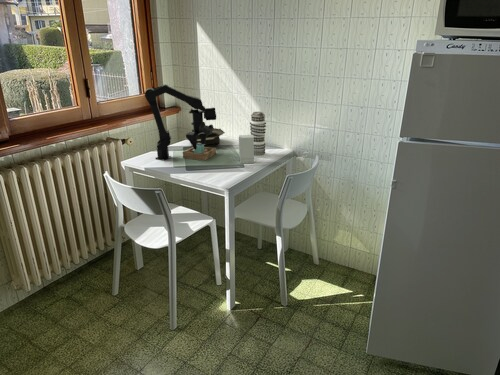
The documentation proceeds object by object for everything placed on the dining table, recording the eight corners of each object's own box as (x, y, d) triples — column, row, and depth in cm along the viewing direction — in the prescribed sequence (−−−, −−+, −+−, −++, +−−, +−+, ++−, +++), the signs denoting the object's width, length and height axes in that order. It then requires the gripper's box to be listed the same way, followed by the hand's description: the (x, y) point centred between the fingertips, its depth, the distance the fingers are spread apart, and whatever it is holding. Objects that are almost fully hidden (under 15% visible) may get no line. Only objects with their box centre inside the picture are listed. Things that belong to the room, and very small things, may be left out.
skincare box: (254, 160, 216) (253, 134, 211) (254, 163, 211) (254, 137, 205) (239, 160, 216) (238, 134, 211) (239, 163, 211) (238, 137, 205)
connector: (200, 156, 222) (200, 144, 219) (195, 155, 224) (194, 143, 221) (204, 154, 225) (203, 142, 223) (198, 153, 227) (197, 142, 224)
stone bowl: (231, 142, 251) (230, 128, 247) (208, 154, 232) (207, 140, 228) (201, 137, 263) (200, 123, 259) (177, 148, 244) (175, 134, 240)
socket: (203, 156, 221) (202, 151, 220) (192, 155, 224) (191, 150, 223) (207, 154, 225) (207, 149, 224) (196, 153, 228) (196, 148, 227)
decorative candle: (263, 158, 220) (263, 114, 210) (248, 156, 222) (247, 113, 213) (267, 153, 228) (268, 111, 218) (253, 152, 230) (252, 110, 221)
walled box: (204, 160, 216) (203, 154, 215) (183, 157, 221) (182, 151, 220) (216, 153, 228) (215, 148, 227) (195, 151, 233) (195, 145, 232)
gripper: (202, 125, 206) (203, 153, 212) (218, 118, 222) (219, 144, 228) (184, 123, 210) (186, 151, 216) (201, 117, 226) (202, 142, 232)
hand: (199, 147), depth 223 cm, fingers open, 9 cm apart
